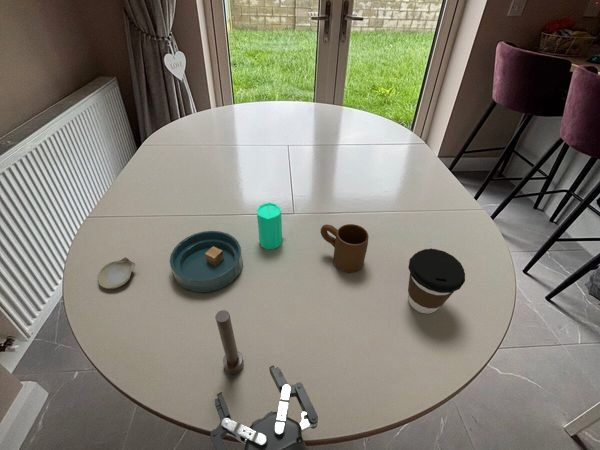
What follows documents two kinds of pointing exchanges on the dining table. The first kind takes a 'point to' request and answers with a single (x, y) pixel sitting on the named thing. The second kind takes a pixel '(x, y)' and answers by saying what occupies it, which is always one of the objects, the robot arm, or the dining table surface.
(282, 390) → the robot arm
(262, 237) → the candle
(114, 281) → the seashell
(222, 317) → the muddler
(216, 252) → the block
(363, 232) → the mug
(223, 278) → the bowl
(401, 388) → the dining table surface
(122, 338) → the dining table surface
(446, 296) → the coffee cup
